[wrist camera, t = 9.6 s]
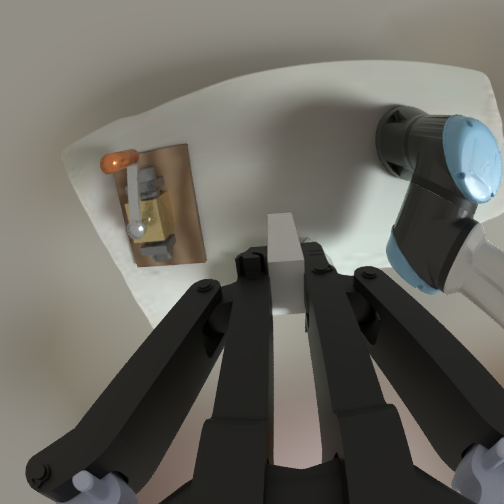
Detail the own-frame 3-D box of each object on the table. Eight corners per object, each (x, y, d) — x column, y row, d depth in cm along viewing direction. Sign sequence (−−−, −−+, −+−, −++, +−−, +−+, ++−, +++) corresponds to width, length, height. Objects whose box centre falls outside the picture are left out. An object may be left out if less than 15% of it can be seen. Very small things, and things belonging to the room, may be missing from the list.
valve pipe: (163, 164, 47) (144, 171, 39) (180, 251, 55) (167, 271, 47) (134, 170, 48) (112, 178, 40) (152, 253, 55) (137, 273, 47)
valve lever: (147, 236, 44) (126, 259, 36) (131, 235, 44) (108, 257, 36) (144, 147, 37) (117, 154, 30) (126, 148, 37) (98, 155, 30)
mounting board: (187, 143, 47) (185, 144, 45) (206, 259, 57) (205, 262, 56) (115, 159, 48) (111, 160, 47) (140, 264, 58) (137, 267, 57)
